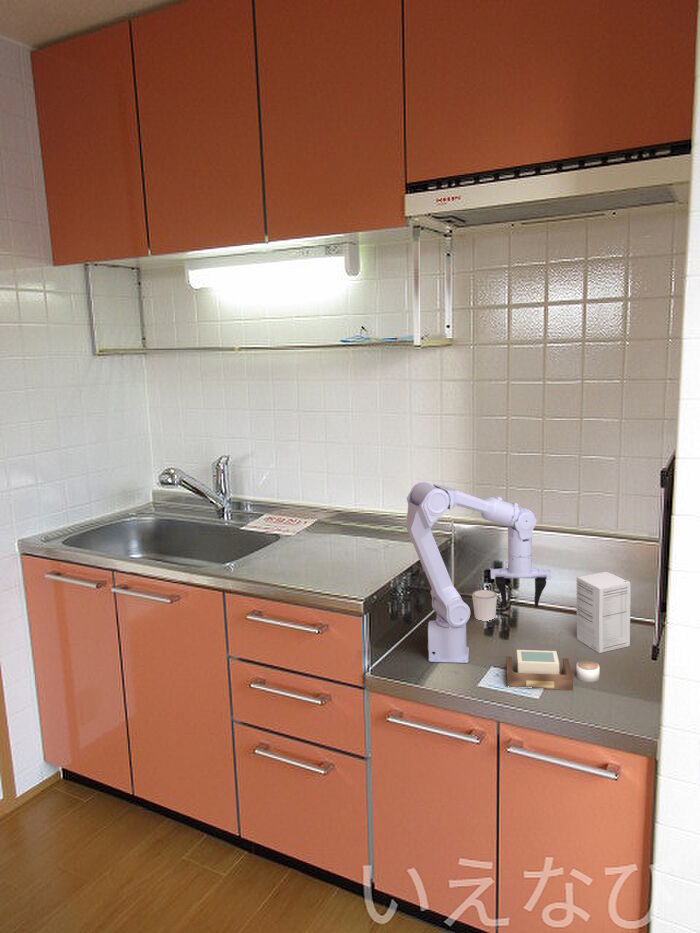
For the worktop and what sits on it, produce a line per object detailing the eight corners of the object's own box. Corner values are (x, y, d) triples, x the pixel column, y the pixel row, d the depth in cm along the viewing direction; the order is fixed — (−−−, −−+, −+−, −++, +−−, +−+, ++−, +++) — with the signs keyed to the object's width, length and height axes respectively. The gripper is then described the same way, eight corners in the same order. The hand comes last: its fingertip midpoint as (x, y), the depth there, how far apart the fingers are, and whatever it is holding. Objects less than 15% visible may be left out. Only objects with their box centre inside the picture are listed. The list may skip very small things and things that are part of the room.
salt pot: (577, 682, 155) (577, 669, 155) (575, 671, 160) (575, 659, 160) (601, 682, 154) (601, 670, 154) (597, 672, 159) (597, 659, 159)
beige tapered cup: (482, 610, 197) (482, 587, 196) (502, 616, 192) (502, 593, 191) (467, 618, 193) (466, 594, 192) (487, 624, 188) (487, 600, 187)
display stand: (507, 688, 154) (507, 675, 154) (506, 668, 163) (506, 656, 163) (573, 690, 152) (573, 678, 151) (568, 670, 161) (568, 658, 160)
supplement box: (606, 632, 179) (607, 570, 176) (631, 646, 171) (632, 581, 167) (575, 639, 176) (575, 576, 173) (598, 654, 168) (599, 588, 165)
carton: (518, 680, 158) (518, 662, 157) (516, 667, 164) (516, 649, 163) (559, 682, 156) (559, 663, 155) (556, 668, 162) (556, 651, 161)
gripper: (548, 549, 174) (548, 599, 177) (490, 548, 177) (491, 598, 180) (551, 557, 168) (551, 610, 170) (490, 557, 171) (491, 609, 173)
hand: (520, 605), depth 175 cm, fingers open, 7 cm apart
